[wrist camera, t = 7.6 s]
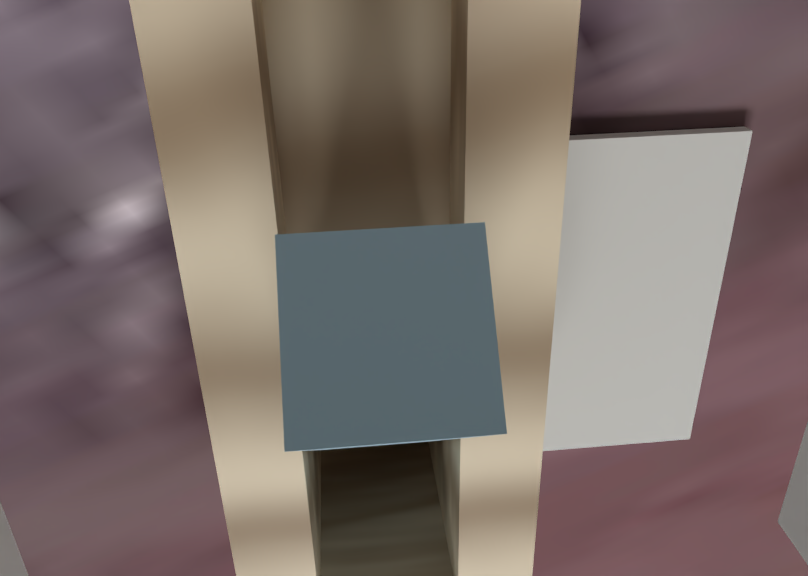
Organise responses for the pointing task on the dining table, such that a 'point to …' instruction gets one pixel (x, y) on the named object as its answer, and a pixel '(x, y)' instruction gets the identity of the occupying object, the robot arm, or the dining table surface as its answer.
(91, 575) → the dining table surface
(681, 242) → the mat
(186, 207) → the jig
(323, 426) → the bar
